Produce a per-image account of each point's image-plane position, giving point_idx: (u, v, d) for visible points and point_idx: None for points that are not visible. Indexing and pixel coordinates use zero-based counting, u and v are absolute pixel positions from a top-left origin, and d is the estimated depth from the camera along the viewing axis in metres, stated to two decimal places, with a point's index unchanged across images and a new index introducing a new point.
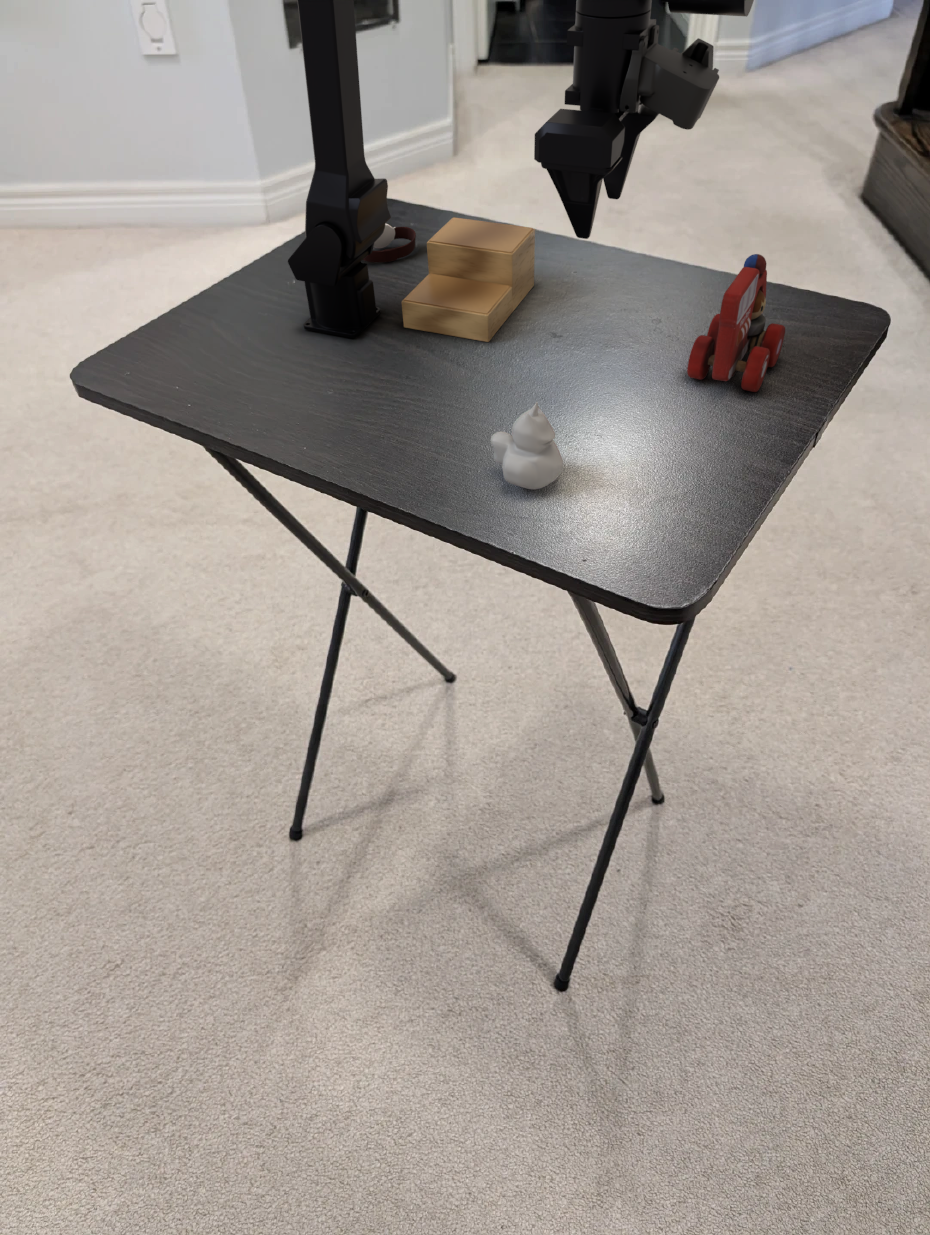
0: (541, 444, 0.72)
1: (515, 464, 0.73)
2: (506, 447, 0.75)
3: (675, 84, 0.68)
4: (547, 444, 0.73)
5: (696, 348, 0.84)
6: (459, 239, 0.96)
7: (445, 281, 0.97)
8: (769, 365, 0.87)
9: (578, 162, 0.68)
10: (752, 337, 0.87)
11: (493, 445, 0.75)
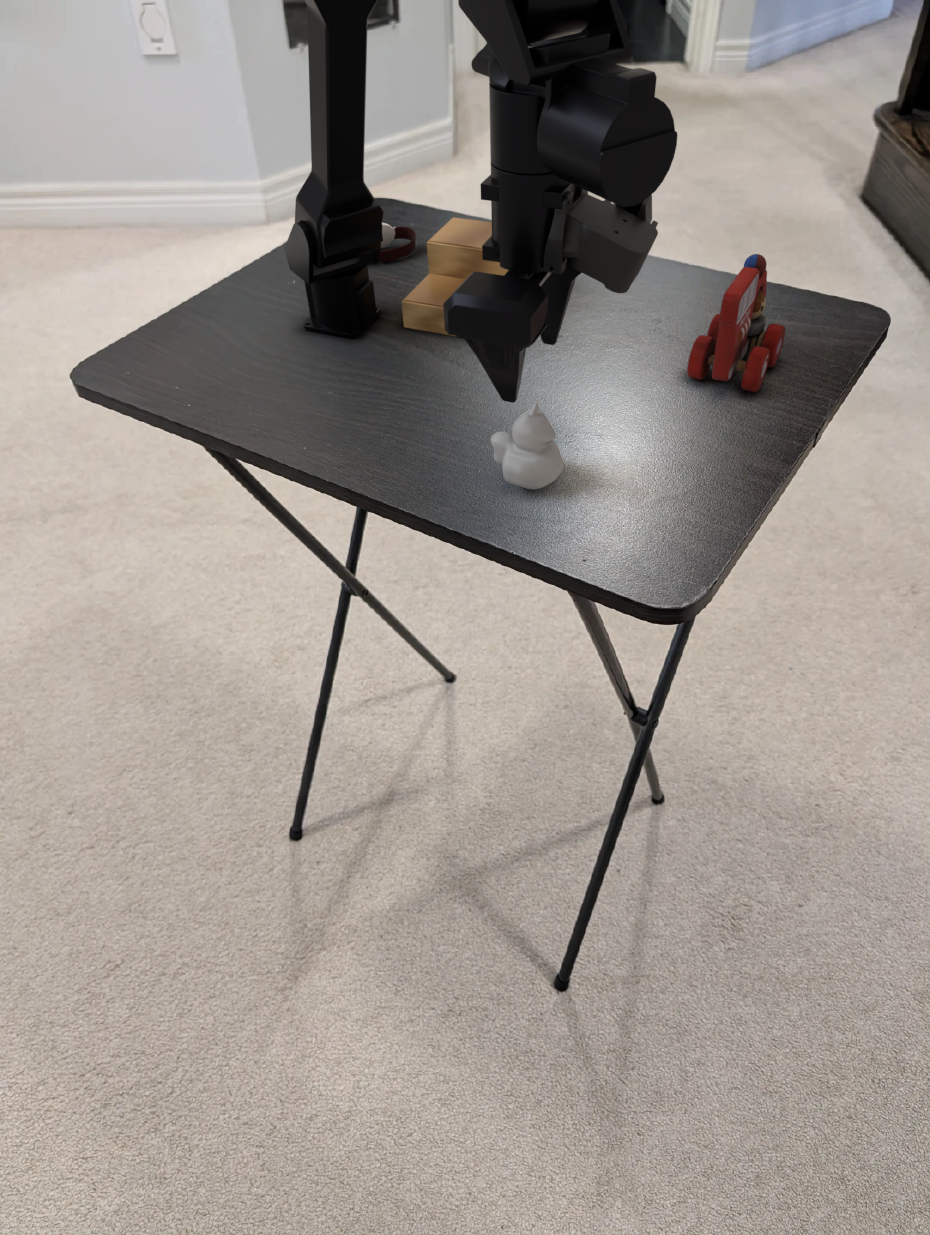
0: (541, 444, 0.72)
1: (515, 464, 0.73)
2: (506, 447, 0.75)
3: (605, 247, 0.59)
4: (547, 444, 0.73)
5: (696, 348, 0.84)
6: (459, 239, 0.96)
7: (445, 281, 0.97)
8: (769, 365, 0.87)
9: (493, 337, 0.58)
10: (752, 337, 0.87)
11: (493, 445, 0.75)
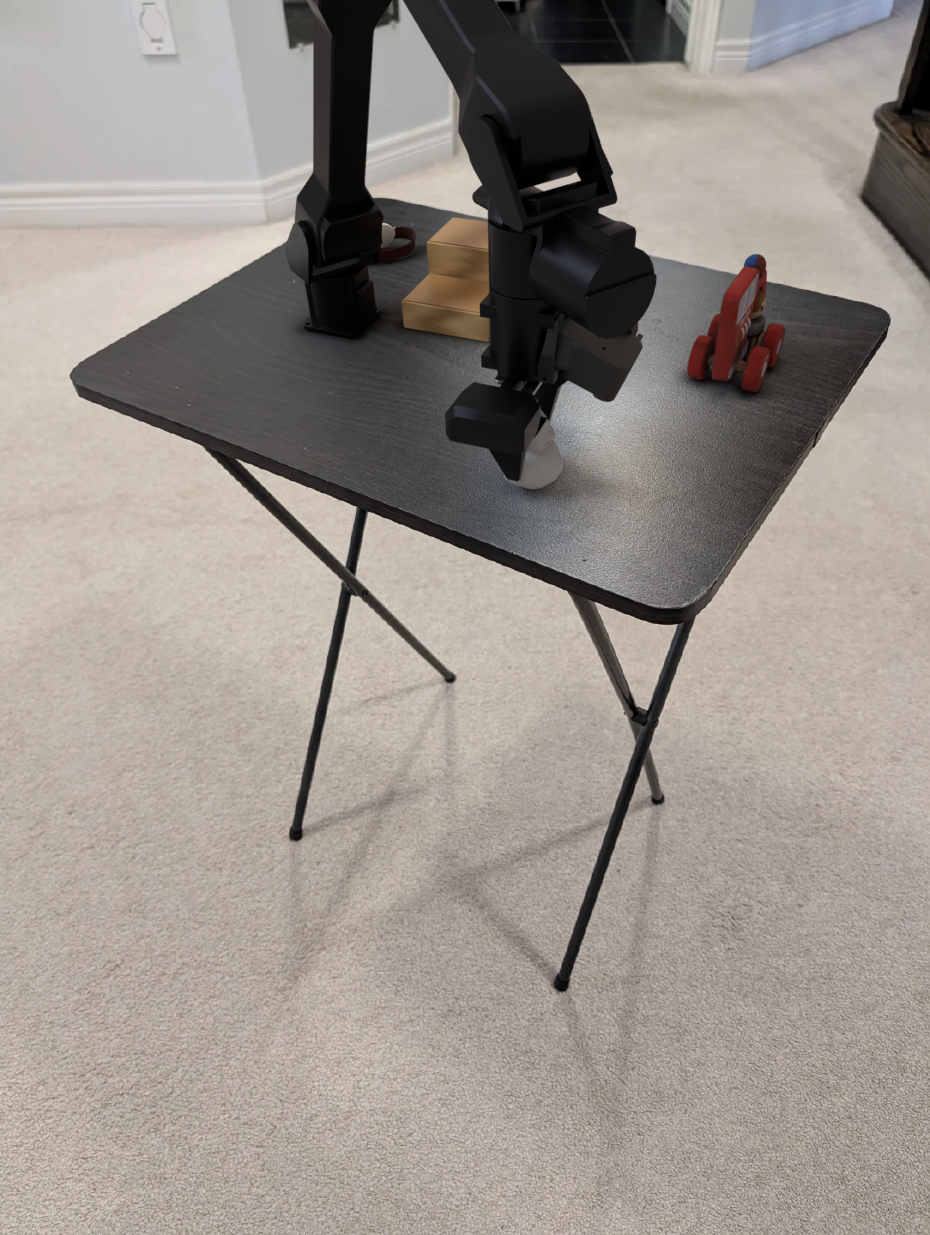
0: (541, 444, 0.72)
1: None
2: None
3: (593, 363, 0.64)
4: (547, 444, 0.73)
5: (696, 348, 0.84)
6: (459, 239, 0.96)
7: (445, 281, 0.97)
8: (769, 365, 0.87)
9: (490, 445, 0.64)
10: (752, 337, 0.87)
11: None
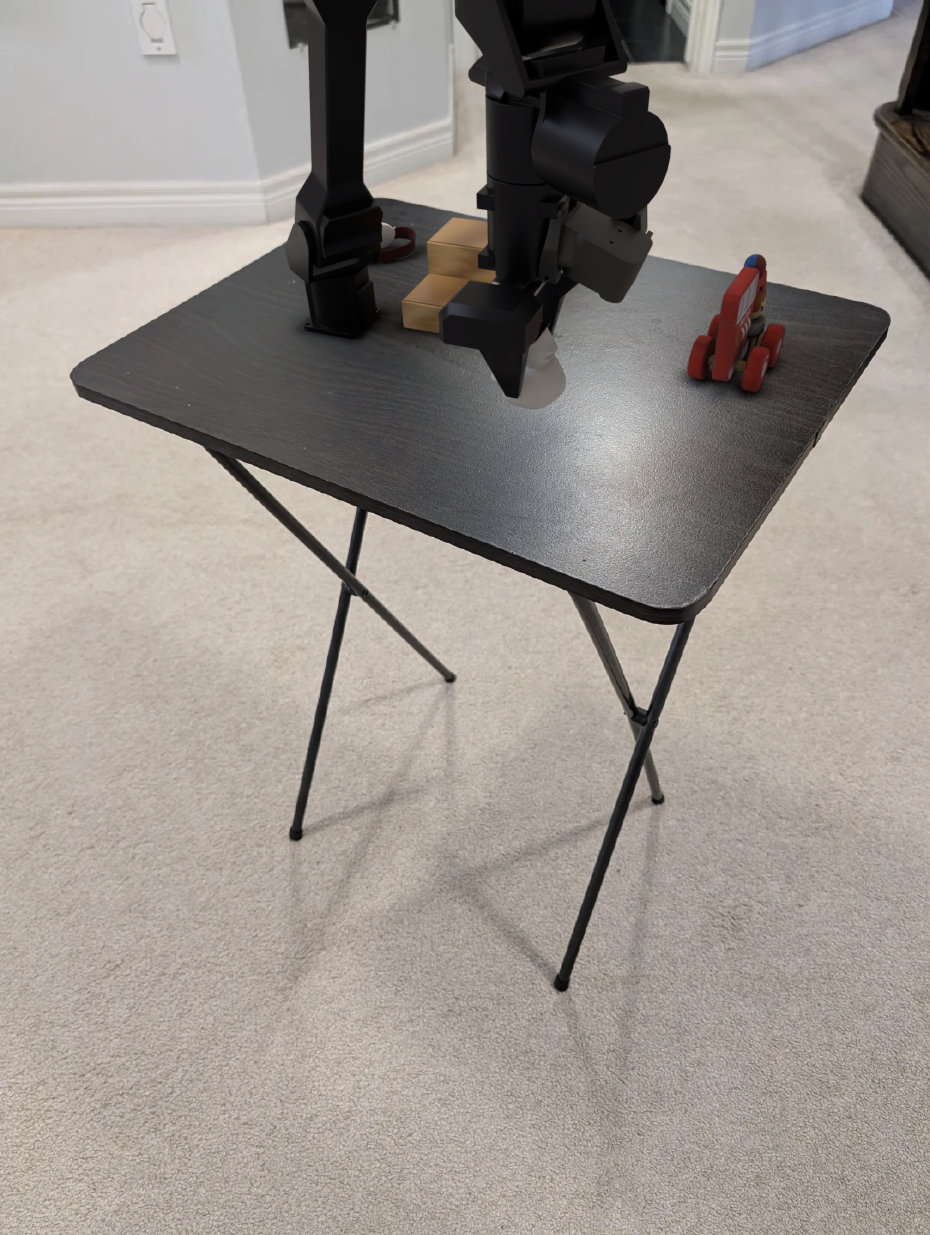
0: (542, 357, 0.67)
1: None
2: None
3: (600, 257, 0.59)
4: (549, 358, 0.68)
5: (696, 348, 0.84)
6: (459, 239, 0.96)
7: (445, 281, 0.97)
8: (769, 365, 0.87)
9: (488, 347, 0.59)
10: (752, 337, 0.87)
11: None
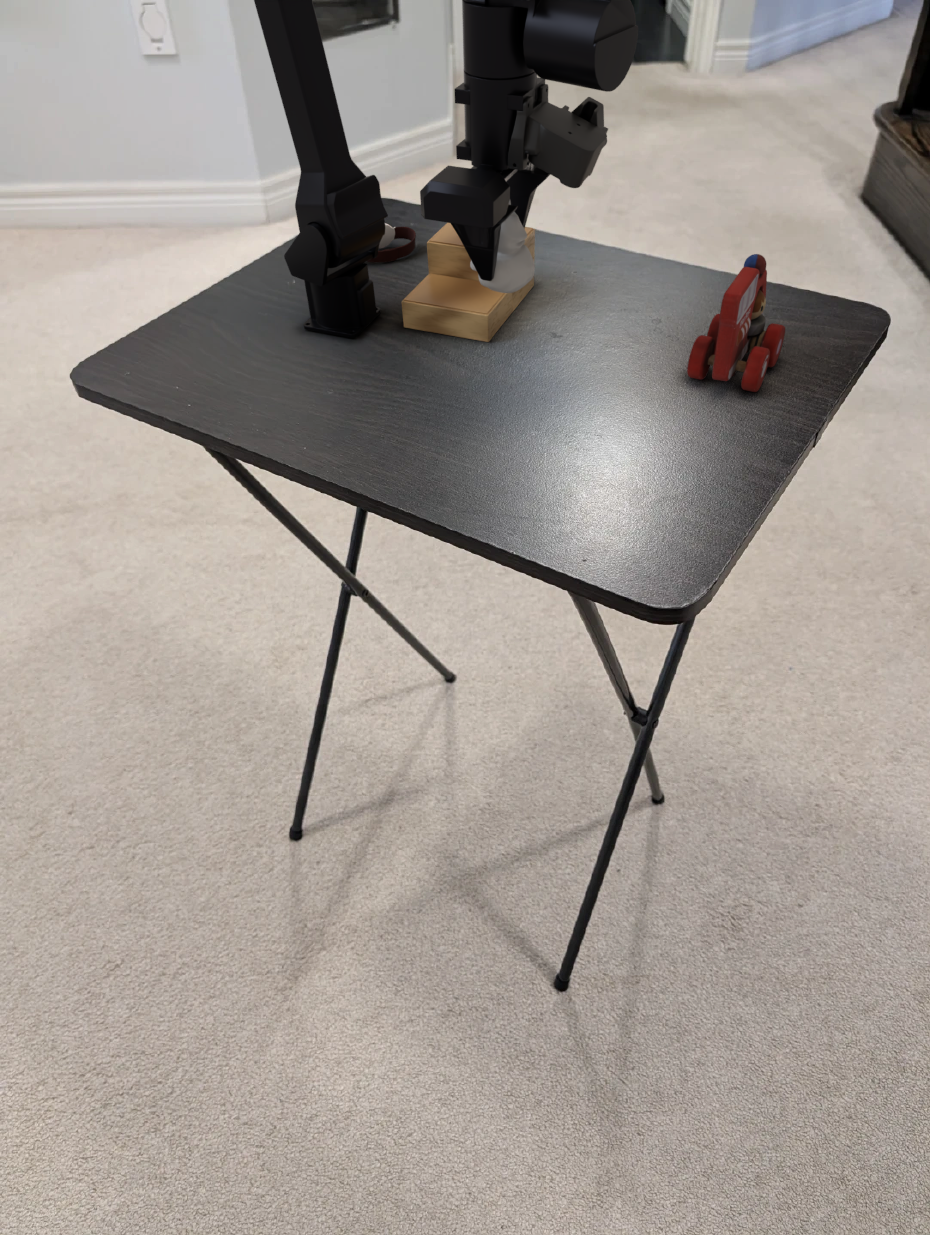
0: (513, 244, 0.77)
1: None
2: None
3: (559, 145, 0.68)
4: (519, 245, 0.77)
5: (696, 348, 0.84)
6: (459, 239, 0.96)
7: (445, 281, 0.97)
8: (769, 365, 0.87)
9: (462, 220, 0.68)
10: (752, 337, 0.87)
11: None
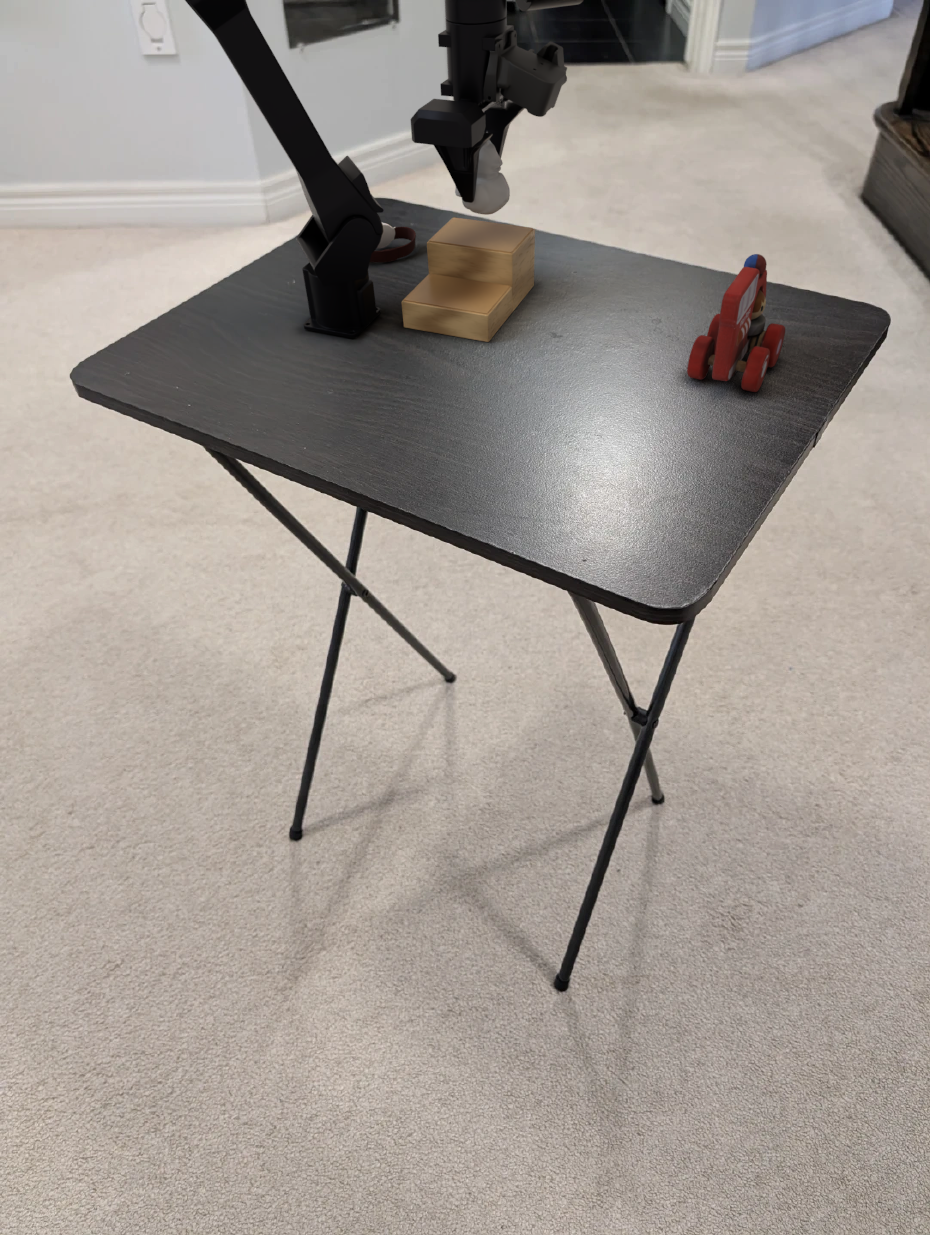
0: (491, 169, 0.91)
1: None
2: None
3: (526, 79, 0.82)
4: (496, 171, 0.91)
5: (696, 348, 0.84)
6: (459, 239, 0.96)
7: (445, 281, 0.97)
8: (769, 365, 0.87)
9: (445, 142, 0.82)
10: (752, 337, 0.87)
11: None
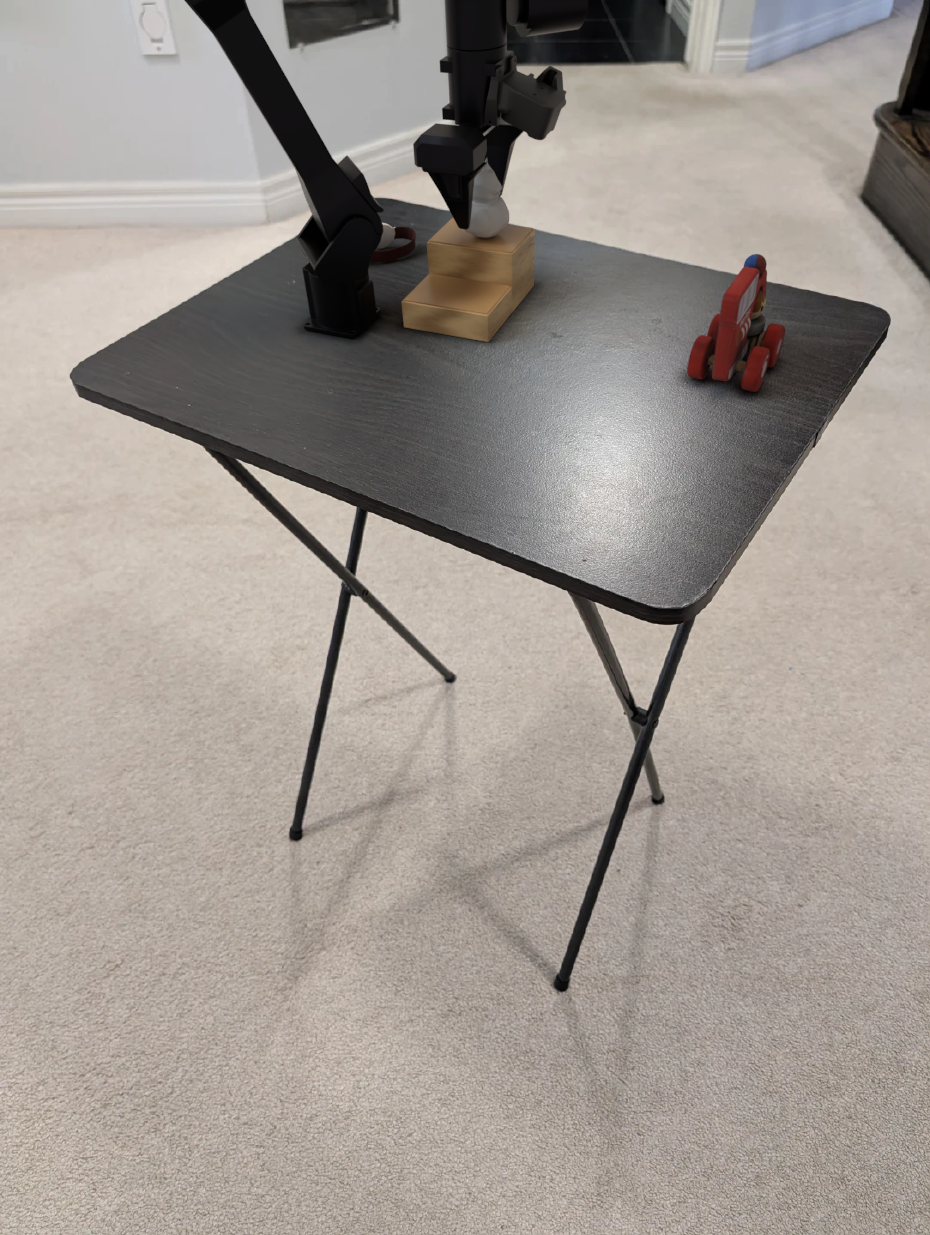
0: (491, 194, 0.93)
1: (471, 212, 0.93)
2: None
3: (526, 104, 0.84)
4: (496, 195, 0.93)
5: (696, 348, 0.84)
6: (459, 239, 0.96)
7: (445, 281, 0.97)
8: (769, 365, 0.87)
9: (447, 167, 0.84)
10: (752, 337, 0.87)
11: None
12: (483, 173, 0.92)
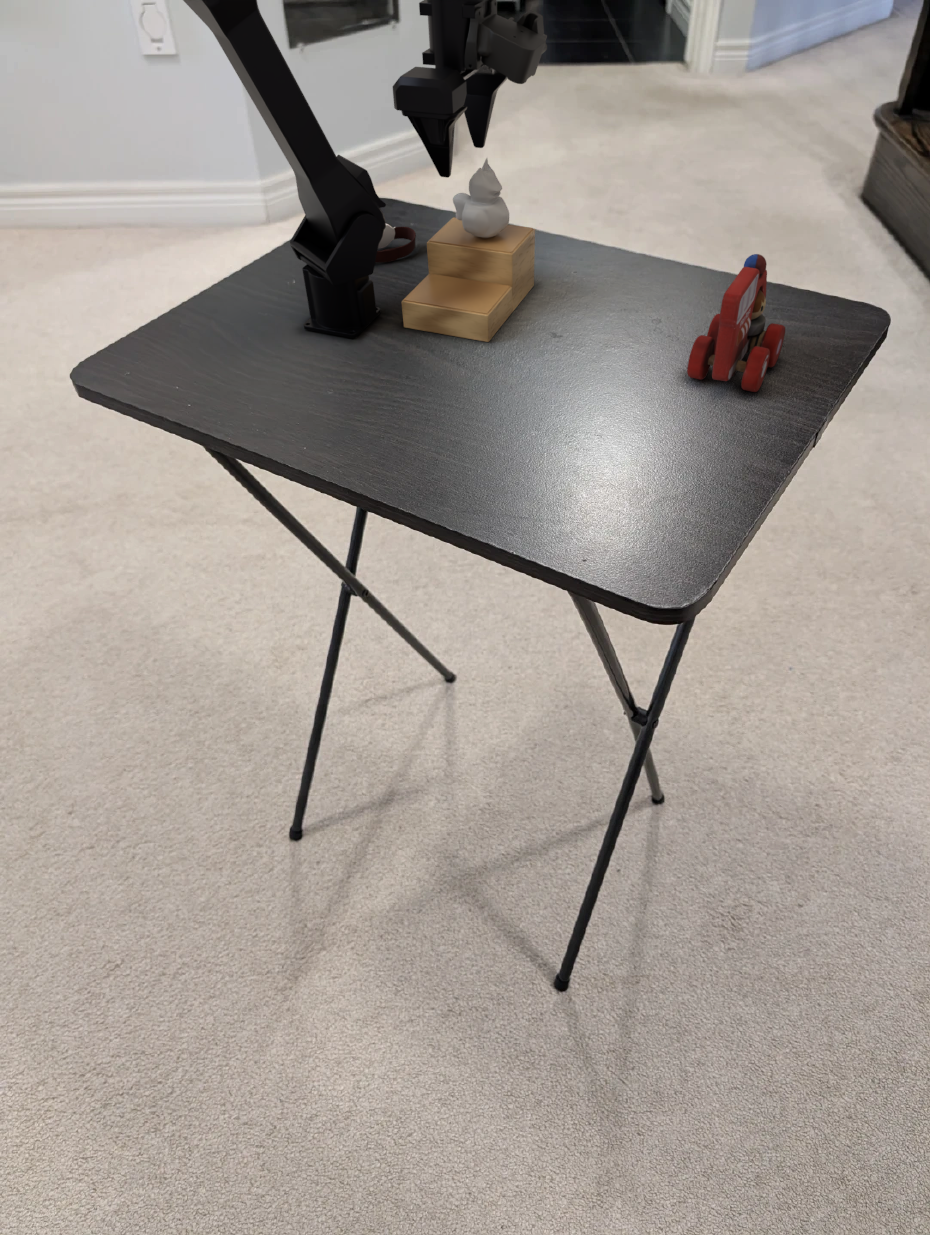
0: (491, 194, 0.93)
1: (471, 212, 0.93)
2: (464, 203, 0.95)
3: (505, 46, 0.84)
4: (496, 195, 0.93)
5: (696, 348, 0.84)
6: (459, 239, 0.96)
7: (445, 281, 0.97)
8: (769, 365, 0.87)
9: (427, 109, 0.84)
10: (752, 337, 0.87)
11: (454, 203, 0.95)
12: (483, 173, 0.92)
